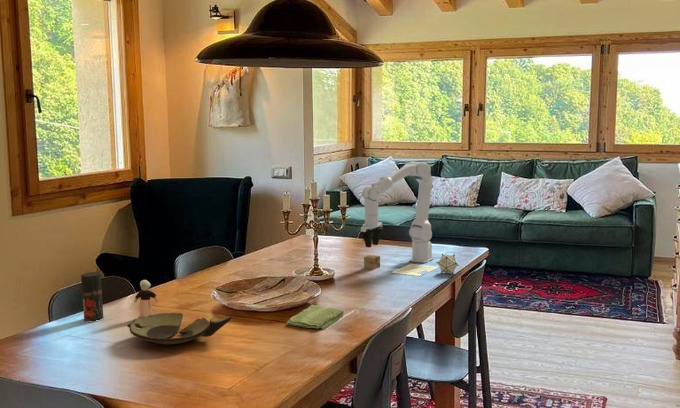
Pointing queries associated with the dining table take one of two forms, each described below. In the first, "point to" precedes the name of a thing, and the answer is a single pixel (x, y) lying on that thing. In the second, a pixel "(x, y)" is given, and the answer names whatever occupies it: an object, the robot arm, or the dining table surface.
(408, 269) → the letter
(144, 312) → the grandmother figurine
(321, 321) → the washcloth
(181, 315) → the oil lamp
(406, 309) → the dining table surface
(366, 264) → the walnut block
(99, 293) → the deodorant
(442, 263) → the game die
